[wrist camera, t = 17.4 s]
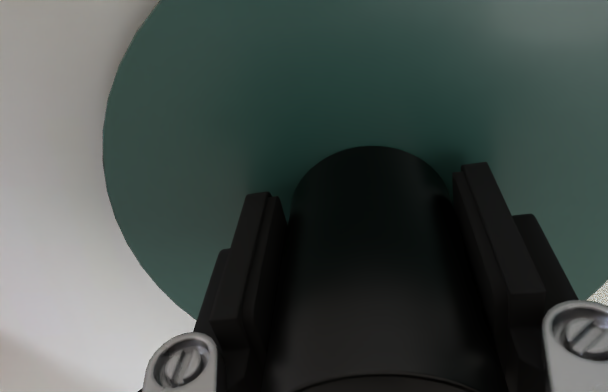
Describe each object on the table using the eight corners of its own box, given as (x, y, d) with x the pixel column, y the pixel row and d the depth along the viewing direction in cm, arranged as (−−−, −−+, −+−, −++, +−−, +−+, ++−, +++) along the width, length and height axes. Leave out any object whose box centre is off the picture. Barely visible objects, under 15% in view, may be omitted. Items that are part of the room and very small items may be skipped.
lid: (19, -23, 11) (-387, 124, 5) (713, -193, 8) (1653, -323, 2) (212, 358, 18) (147, 598, 12) (603, 329, 16) (757, 613, 10)
